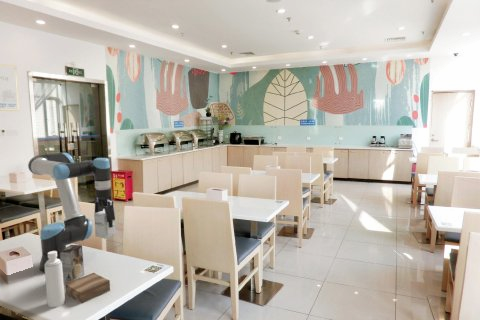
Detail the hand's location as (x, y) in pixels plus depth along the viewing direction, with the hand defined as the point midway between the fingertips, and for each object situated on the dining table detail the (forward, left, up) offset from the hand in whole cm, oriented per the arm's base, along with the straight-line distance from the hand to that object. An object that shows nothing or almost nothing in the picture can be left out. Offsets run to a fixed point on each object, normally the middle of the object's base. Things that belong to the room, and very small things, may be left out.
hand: (105, 231), depth 178 cm
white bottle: (+10, -31, -23) cm, 39 cm away
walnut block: (+11, -17, -22) cm, 30 cm away
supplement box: (0, 0, -3) cm, 3 cm away
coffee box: (-9, -14, -23) cm, 28 cm away
